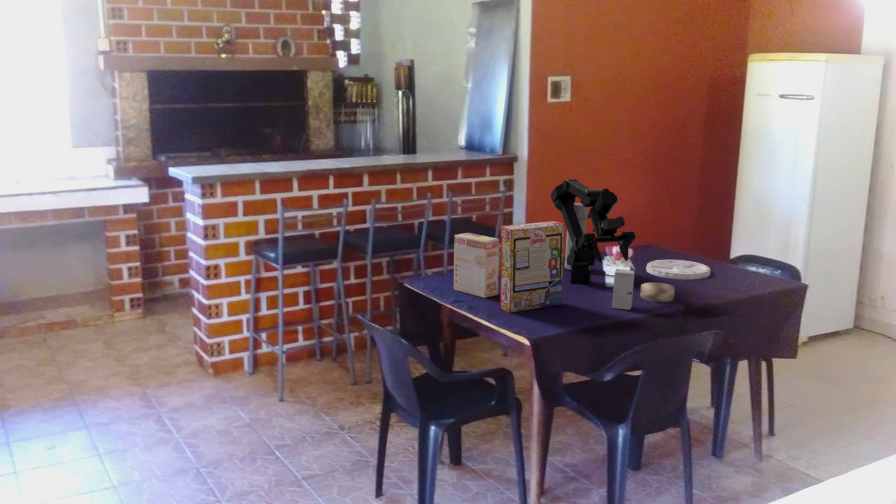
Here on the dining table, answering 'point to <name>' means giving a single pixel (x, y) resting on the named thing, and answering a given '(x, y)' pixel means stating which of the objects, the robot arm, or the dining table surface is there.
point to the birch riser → (657, 292)
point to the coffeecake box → (476, 264)
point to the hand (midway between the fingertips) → (614, 261)
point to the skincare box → (623, 289)
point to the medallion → (678, 269)
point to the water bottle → (581, 215)
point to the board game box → (531, 266)
